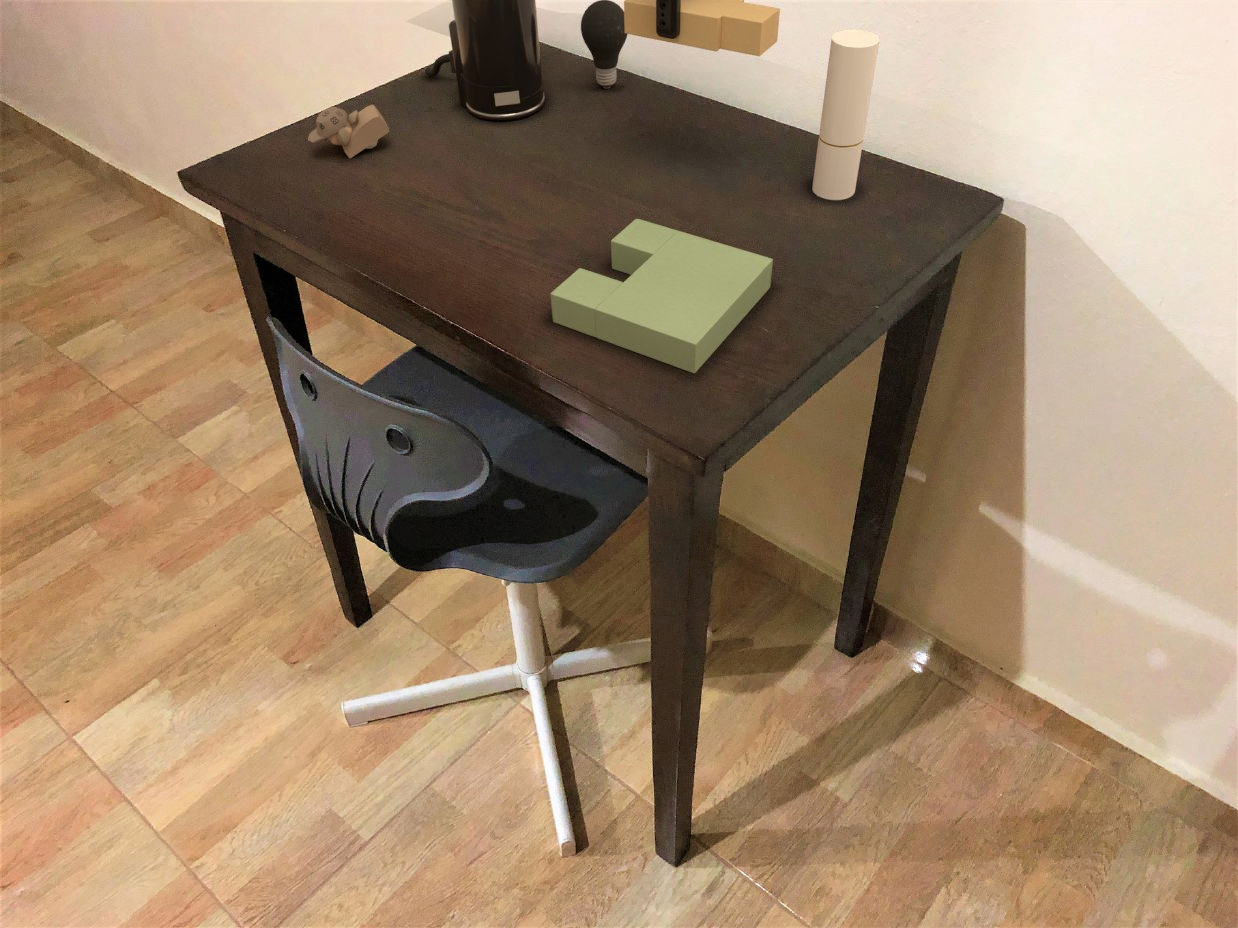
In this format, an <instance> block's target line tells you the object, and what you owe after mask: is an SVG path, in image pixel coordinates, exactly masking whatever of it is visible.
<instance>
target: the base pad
mask: <svg viewBox="0 0 1238 928" xmlns="http://www.w3.org/2000/svg"><path fill="white" fill-rule="evenodd" d="M610 257H611V269H612V270H615V271H618V272H621V273H624V274H627V275H629V276H628V277H627V278H626V279H625V280H624V281H621V280H617V279H615V278H611V277H608V276H606V275H603V274H600V273H596V272H593V271H591V270H587V269H585V268H582V267H579V268H577V270H575V271H574V272H573V273H572V274H570V275H569V277H567V278H566V279H565V280H564V281H563V282H562V283H560V284H559V285H558V286H557V287H555V289H554V290H552V291H551V292H550V303H551V304H550V305H551V315H552V322H553V323H554V324H558V325H560V326H563V327H566V328H568V329H571V330H574V331H576V332H579V333H582V334H585V335H588V336H590V337H594V338H596V339H599V340H602V341H604V342H606V343H610V344H612V345H615V346H618V347H621V348H623V349H625V350H627V351H632V352H635V353H637V354H640V355H641V356H642V355H643V356H645V357H648V358H651V359H652V360H656V361H659V362H661V363H664V364H667V365H669V366H672V367H675V368H678V369H681V370H683V371H686V372H689V373H692V374H696V373H697V372H698V371H699V370H700V369H701V367H702V366H703V365H704V364H705V363H706V361H708V359H709V358H710V357H711V356H712V355H713V353H714V352H715V351H716V350H717V349H718V348H719V346H721V345H722V343H723V342H724V341H725V340H726V339H727V337H728V336H729V335H730V334H731V333H732V332H733V331H734V330H735V328H736V327H737V326H738V325H739V324H740V323H741V321H742V320H743V319H744V318H745V317H746V316H747V315H748V314H749V312H751V310H752V309H753V308H754V307H755V305H756V304H757V303H758V302H759V301H760V300H761V299H762V298H763V296H764V295H765V294H766V293H767V292H768V291H769V289H771V284H772V283H771V282H772V275H773V274H772V273H773V264H774V259H773V258H771V257H767V256H765V255H761V254H757V253H754V252H751V251H748V250H745V249H741V248H738V247H734V246H731V245H727V244H724V243H721V242H718V241H714V240H711V239H707V238H704V237H701V236H697V235H695V234H690V233H687V232H684V231H681V230H677V229H674V228H671V227H667V226H663V225H660V224H657V223H654V222H650V221H647V220H644V219H640V218H635V219H634V220H633V221H632V222H630V223H629V224H628V225H627V226H625V228H623V229H622V230H621V231H620V232H619V233H617V235H616V236H614V237H613V238H612V239H611V240H610Z"/></svg>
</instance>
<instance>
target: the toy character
mask: <svg viewBox="0 0 1238 928" xmlns="http://www.w3.org/2000/svg"><path fill="white" fill-rule="evenodd" d="M315 121H316V128H314V129H313V130H312V131H311V132H309V134H308V138H307V141H308V142H309V143H311V144H316V143H317V142H318V143H319V142H320V141H322V140H324V142H328V143H330V144H331V145H336V146H342V149H343V152H344V153H345V154H346V156H347V157H348V159H352V158H353V157H355V156H356V155H358V154H359V153H360V152H362V151H364V150H372V149H373V148H375V147H376V146H377V144H378V141H379V140H380V139H381V138H383V137H384V136H386V135H387V134H388V133H390V128H389V126H388V124H387V122H386V121H385V118H384V117H383V115H382V114H381V113H380V111H379V110H378V108H377V107H376V106H375V104H370V105H367V106H366V107H364V108H363V109H361V110H360V111H358V110H357V109H355V110H353V111H352V112H351V113H349V114H348V113H347V112H346V110H344V109H342V108H339V107H337V106H333V105H332V106H330V107H327V108H325V109H323V110H322V111H321V112H320V113H318V115H317V117H316V120H315Z"/></svg>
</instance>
